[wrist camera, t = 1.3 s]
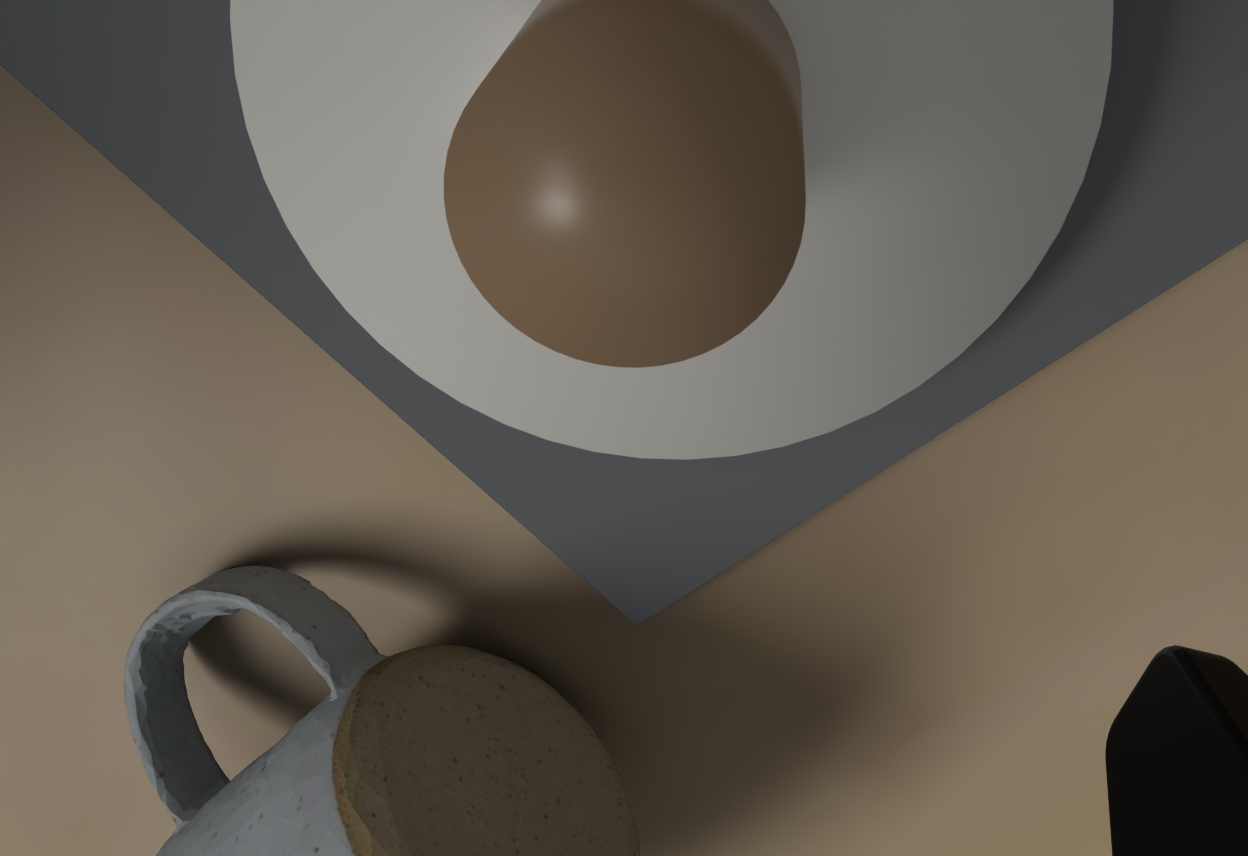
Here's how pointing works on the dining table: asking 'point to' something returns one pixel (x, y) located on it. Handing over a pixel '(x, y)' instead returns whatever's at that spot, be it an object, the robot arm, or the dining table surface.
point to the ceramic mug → (372, 745)
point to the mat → (672, 488)
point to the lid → (673, 195)
